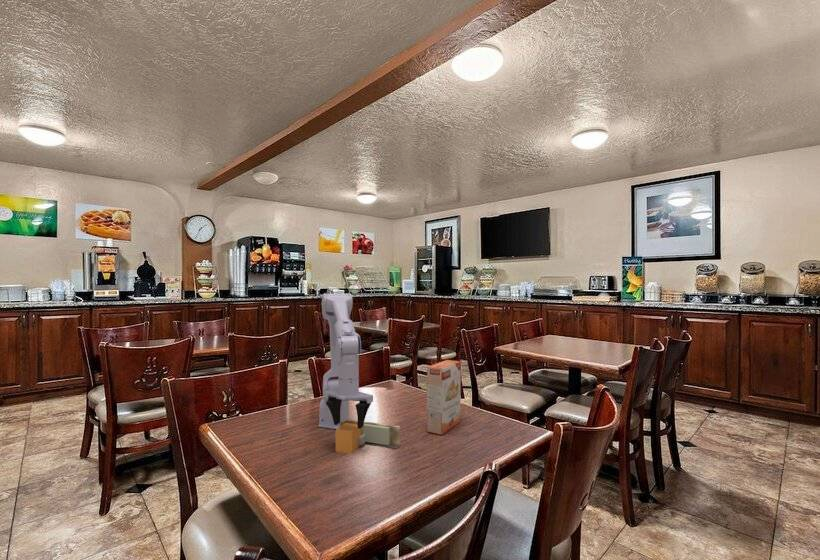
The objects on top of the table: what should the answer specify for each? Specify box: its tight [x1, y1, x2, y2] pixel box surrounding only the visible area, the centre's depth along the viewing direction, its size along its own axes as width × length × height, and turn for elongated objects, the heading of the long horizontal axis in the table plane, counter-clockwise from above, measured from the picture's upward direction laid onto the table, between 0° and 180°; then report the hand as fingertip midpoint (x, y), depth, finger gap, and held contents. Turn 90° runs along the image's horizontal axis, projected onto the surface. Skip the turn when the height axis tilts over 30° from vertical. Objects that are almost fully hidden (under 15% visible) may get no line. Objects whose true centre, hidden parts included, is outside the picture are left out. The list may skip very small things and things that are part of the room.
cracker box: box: [426, 359, 462, 436], centre depth 125 cm, size 14×6×21 cm, turn 148°
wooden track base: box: [340, 418, 401, 450], centre depth 113 cm, size 18×3×6 cm, turn 70°
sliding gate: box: [358, 424, 390, 446], centre depth 111 cm, size 8×4×5 cm, turn 70°
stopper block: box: [335, 423, 361, 455], centre depth 110 cm, size 5×6×6 cm
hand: (348, 425), depth 109 cm, fingers open, 7 cm apart
